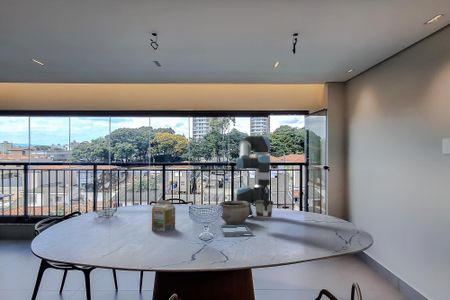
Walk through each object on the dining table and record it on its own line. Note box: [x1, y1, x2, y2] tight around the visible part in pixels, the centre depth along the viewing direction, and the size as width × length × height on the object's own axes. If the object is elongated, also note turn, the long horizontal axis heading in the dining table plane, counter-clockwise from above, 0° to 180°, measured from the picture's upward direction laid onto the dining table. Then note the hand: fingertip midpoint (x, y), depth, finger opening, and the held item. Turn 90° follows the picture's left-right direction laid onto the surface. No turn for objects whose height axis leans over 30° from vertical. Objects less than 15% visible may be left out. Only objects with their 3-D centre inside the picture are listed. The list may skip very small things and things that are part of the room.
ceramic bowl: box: [218, 200, 249, 225], centre depth 210 cm, size 22×22×15 cm
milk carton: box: [151, 199, 176, 234], centre depth 190 cm, size 11×11×19 cm
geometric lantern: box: [92, 171, 121, 219], centre depth 230 cm, size 16×16×35 cm
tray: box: [218, 224, 253, 236], centre depth 185 cm, size 18×18×2 cm
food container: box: [253, 200, 274, 218], centre depth 189 cm, size 12×6×10 cm, turn 84°
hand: (263, 214), depth 189 cm, fingers closed on food container, 7 cm apart
